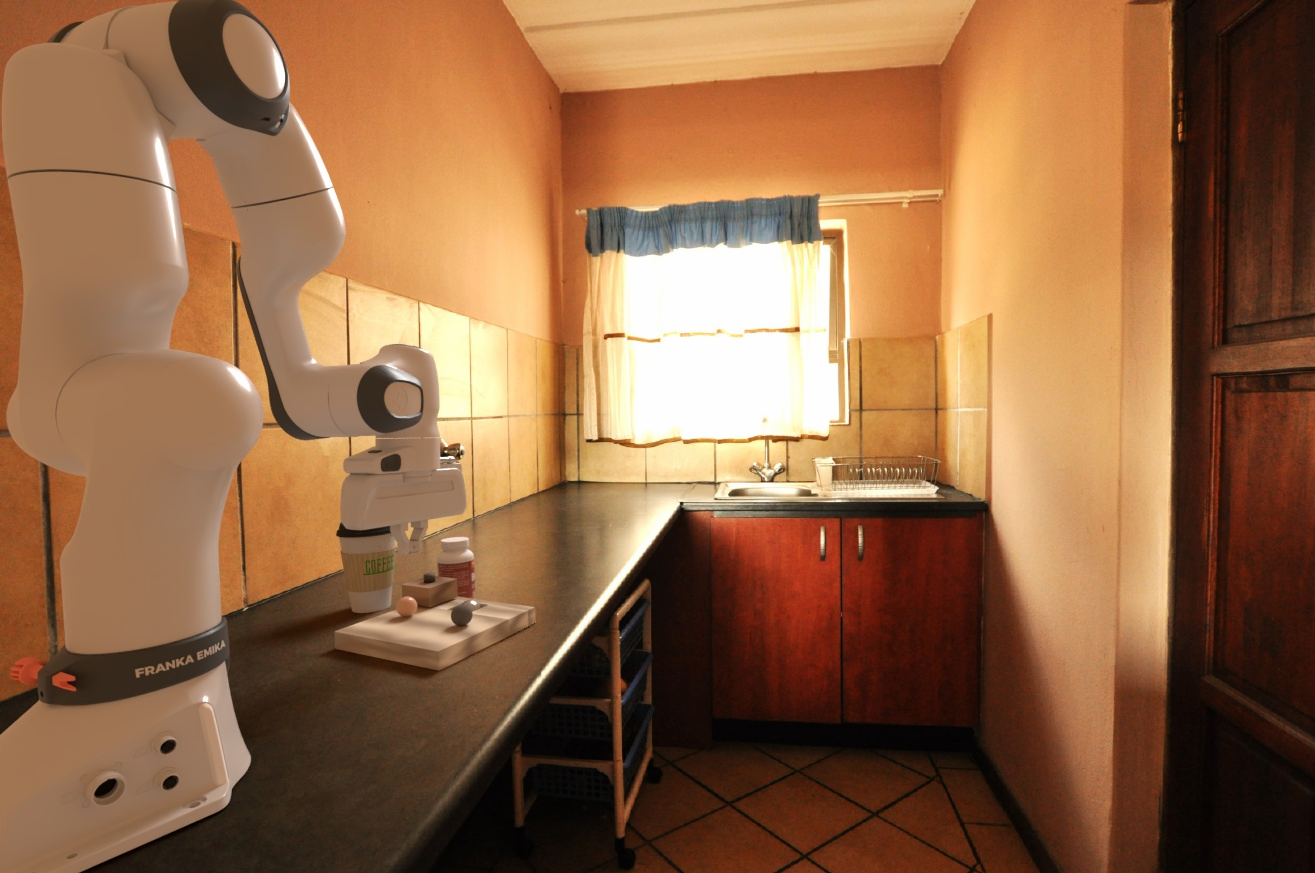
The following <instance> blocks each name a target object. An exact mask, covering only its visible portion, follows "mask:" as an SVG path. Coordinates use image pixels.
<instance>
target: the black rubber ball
mask: <svg viewBox="0 0 1315 873" xmlns="http://www.w3.org/2000/svg"><path fill="white" fill-rule="evenodd" d="M472 616H473V613H472V610H471V608H470V607H469V606H467V605H464V604H461V605H458V606H456V607H455V608H454V609H453V610H452V612H451V620H452V622H453V623H454V624H455V625H458V626H464V625H467V624H468V623H469V622H470V621H471V619H472Z"/></svg>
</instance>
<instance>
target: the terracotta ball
mask: <svg viewBox="0 0 1315 873" xmlns="http://www.w3.org/2000/svg"><path fill="white" fill-rule="evenodd" d="M395 605H396V606H395V607H396V608H395V610H397V612H398V614H399V615H401V616H403V617H409V616H411V615H413V614H414V613H415V612H416V610H417V602H416V600H415V599H414V598H412V597H409V596H406V597H403V598H402V597H401V598H399V600H398V601H397V603H396V604H395Z"/></svg>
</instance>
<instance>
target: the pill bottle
mask: <svg viewBox="0 0 1315 873" xmlns="http://www.w3.org/2000/svg"><path fill="white" fill-rule="evenodd" d="M469 546H470V539H469V537H466V536H455V537H454V536H453V537H447V538H443V539H441V540H440V549H441V550H442V552H440V553H439V554H438V556H437V557H436V564H437V565H436V567H437V569H436V570H437V576H438V577H446V578H454V579H457V588H458V597H465V598H473V599H477V598H476V596H477V595H476V593H477V591H476V572H475V568H476V567H475V556H474V553H473V552H472V550H470V549H468V548H469Z"/></svg>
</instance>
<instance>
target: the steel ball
mask: <svg viewBox="0 0 1315 873" xmlns="http://www.w3.org/2000/svg"><path fill="white" fill-rule="evenodd" d="M462 604H464V605H467V606H469V607H470V608H471V610H472V612H473V611H475V610H477V609H480V608H481V606H480V604H479V603H478V602H476V601H474V600H467V601H465V602H463V603H462Z"/></svg>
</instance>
